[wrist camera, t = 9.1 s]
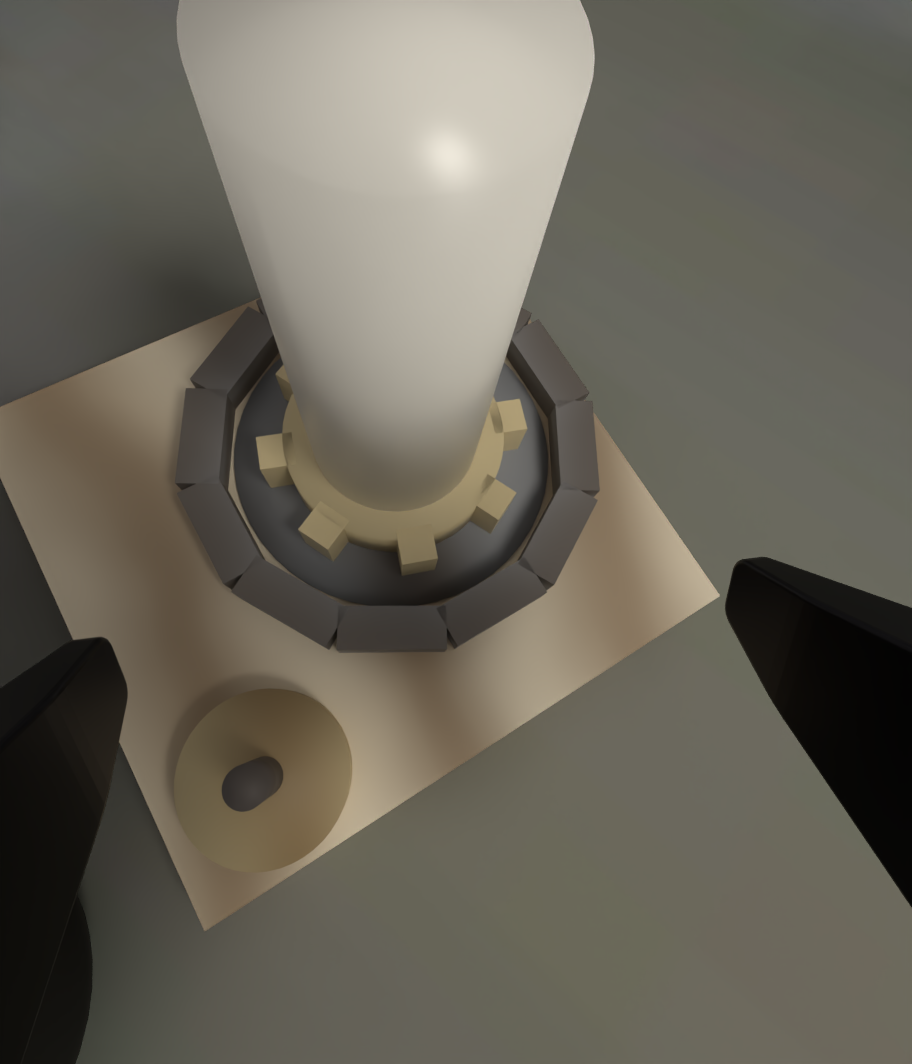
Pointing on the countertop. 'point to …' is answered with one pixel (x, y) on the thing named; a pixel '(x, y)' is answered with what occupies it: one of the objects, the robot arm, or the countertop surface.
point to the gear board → (319, 596)
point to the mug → (64, 998)
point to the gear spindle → (390, 236)
